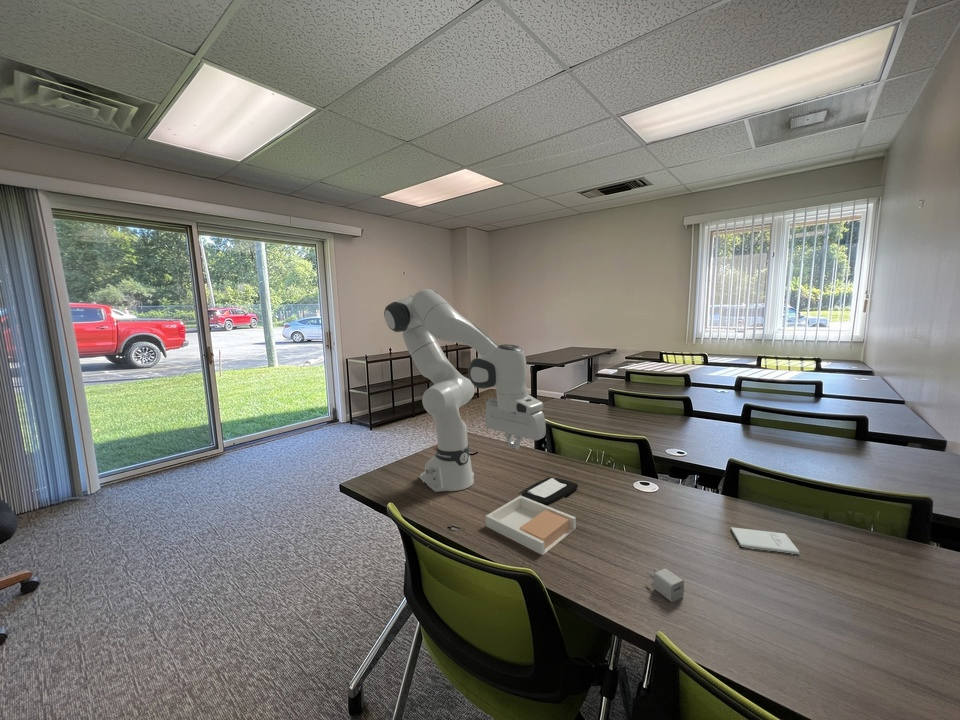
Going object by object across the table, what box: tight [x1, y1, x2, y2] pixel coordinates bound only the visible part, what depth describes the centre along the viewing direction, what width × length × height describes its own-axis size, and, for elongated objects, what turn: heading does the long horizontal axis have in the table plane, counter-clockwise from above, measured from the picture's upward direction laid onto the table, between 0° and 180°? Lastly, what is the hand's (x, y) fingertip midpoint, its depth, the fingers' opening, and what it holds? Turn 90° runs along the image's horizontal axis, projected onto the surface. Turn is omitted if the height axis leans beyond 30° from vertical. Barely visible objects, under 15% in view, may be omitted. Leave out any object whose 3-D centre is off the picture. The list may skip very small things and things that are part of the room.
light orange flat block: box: [520, 510, 569, 549], centre depth 104 cm, size 8×12×3 cm, turn 135°
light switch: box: [518, 477, 579, 506], centre depth 130 cm, size 20×3×14 cm
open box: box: [485, 494, 577, 556], centre depth 108 cm, size 20×16×4 cm
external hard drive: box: [729, 526, 801, 556], centre depth 98 cm, size 2×8×12 cm
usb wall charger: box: [647, 568, 685, 603], centre depth 83 cm, size 4×7×4 cm, turn 24°
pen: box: [446, 525, 466, 531], centre depth 107 cm, size 1×19×1 cm, turn 62°
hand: (514, 448), depth 109 cm, fingers closed
